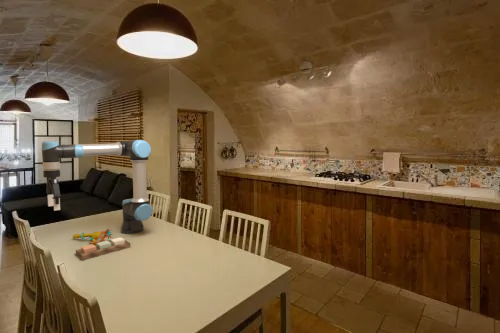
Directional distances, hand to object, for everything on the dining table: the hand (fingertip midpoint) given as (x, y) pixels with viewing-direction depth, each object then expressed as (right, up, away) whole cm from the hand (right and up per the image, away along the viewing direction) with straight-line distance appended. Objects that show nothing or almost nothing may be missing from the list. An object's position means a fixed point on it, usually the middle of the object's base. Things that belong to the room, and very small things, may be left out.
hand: (54, 208), depth 155 cm
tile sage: (+22, -24, +10) cm, 34 cm away
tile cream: (+28, -24, +15) cm, 40 cm away
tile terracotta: (+17, -25, +4) cm, 30 cm away
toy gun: (+6, -25, +21) cm, 34 cm away
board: (+22, -27, +10) cm, 36 cm away
